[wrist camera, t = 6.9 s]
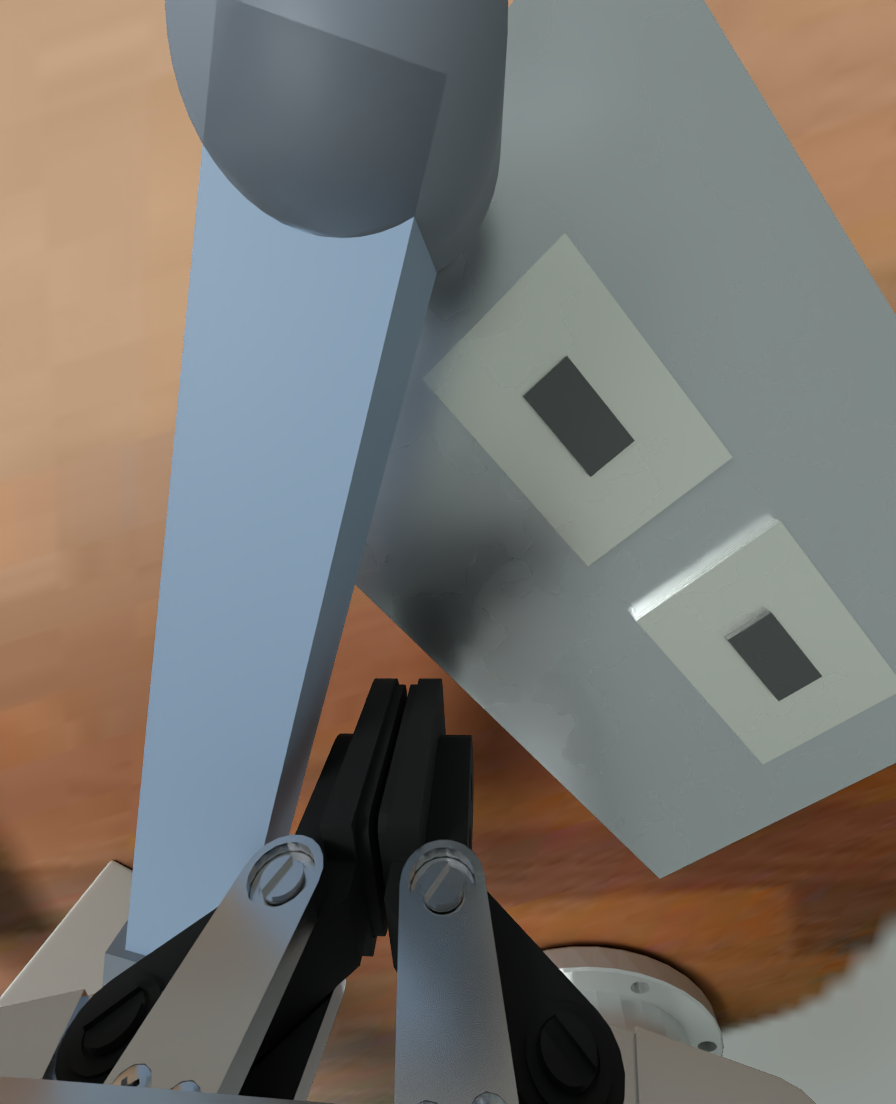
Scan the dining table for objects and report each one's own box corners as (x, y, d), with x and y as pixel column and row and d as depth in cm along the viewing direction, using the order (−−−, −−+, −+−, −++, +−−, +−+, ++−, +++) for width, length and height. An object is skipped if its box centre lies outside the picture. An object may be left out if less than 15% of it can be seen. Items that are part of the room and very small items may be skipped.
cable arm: (299, -30, 7) (172, -315, 4) (533, 55, 7) (566, -171, 4) (170, 880, 13) (93, 1000, 11) (287, 915, 13) (238, 1042, 11)
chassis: (950, 593, 15) (1244, 718, 9) (624, 781, 19) (687, 956, 13) (571, 34, 11) (663, -355, 5) (254, 406, 15) (104, 414, 9)
